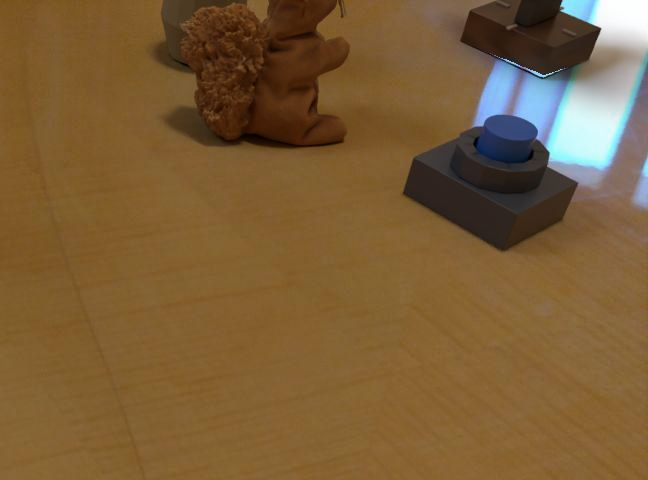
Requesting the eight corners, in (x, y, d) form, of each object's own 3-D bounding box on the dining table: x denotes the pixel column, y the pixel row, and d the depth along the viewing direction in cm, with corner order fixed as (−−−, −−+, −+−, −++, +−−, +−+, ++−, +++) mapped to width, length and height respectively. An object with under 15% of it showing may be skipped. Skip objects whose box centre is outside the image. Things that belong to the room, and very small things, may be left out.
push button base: (562, 219, 80) (588, 160, 76) (502, 251, 76) (526, 192, 73) (463, 165, 85) (483, 107, 81) (402, 193, 81) (419, 135, 77)
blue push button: (538, 156, 77) (548, 130, 75) (507, 171, 75) (517, 145, 74) (496, 134, 79) (505, 109, 77) (465, 149, 77) (473, 123, 76)
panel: (592, 57, 100) (606, 25, 98) (538, 80, 96) (551, 47, 94) (510, 21, 105) (521, -11, 102) (456, 42, 101) (466, 9, 98)
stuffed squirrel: (354, 142, 86) (394, -21, 76) (204, 163, 83) (226, -6, 73) (302, 90, 92) (334, -69, 82) (161, 107, 89) (176, -56, 79)
